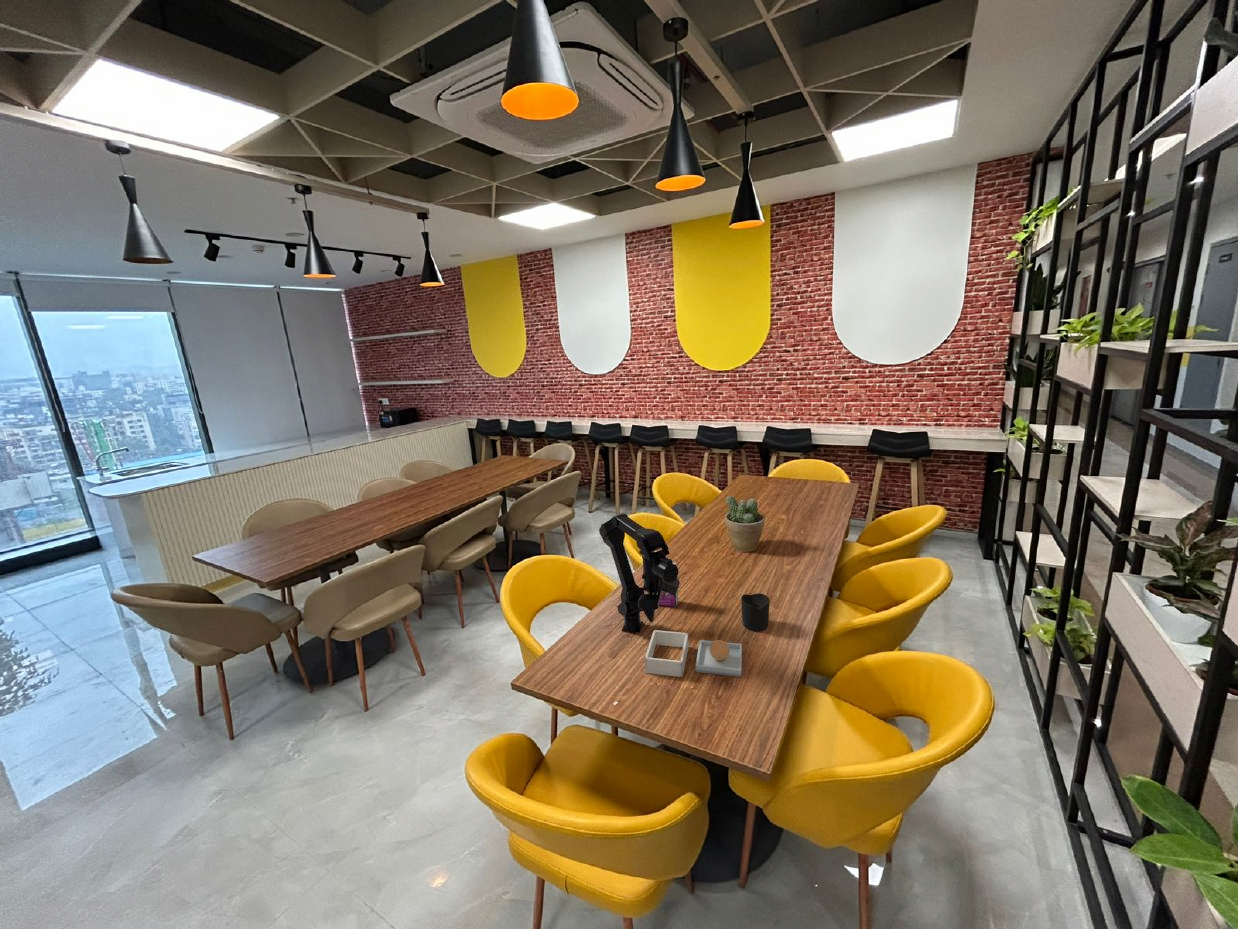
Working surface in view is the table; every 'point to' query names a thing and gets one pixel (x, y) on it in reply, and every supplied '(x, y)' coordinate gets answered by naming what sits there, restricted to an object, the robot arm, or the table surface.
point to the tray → (721, 667)
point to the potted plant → (744, 524)
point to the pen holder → (755, 611)
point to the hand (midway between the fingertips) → (654, 614)
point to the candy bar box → (668, 598)
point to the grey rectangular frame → (663, 664)
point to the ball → (719, 650)
